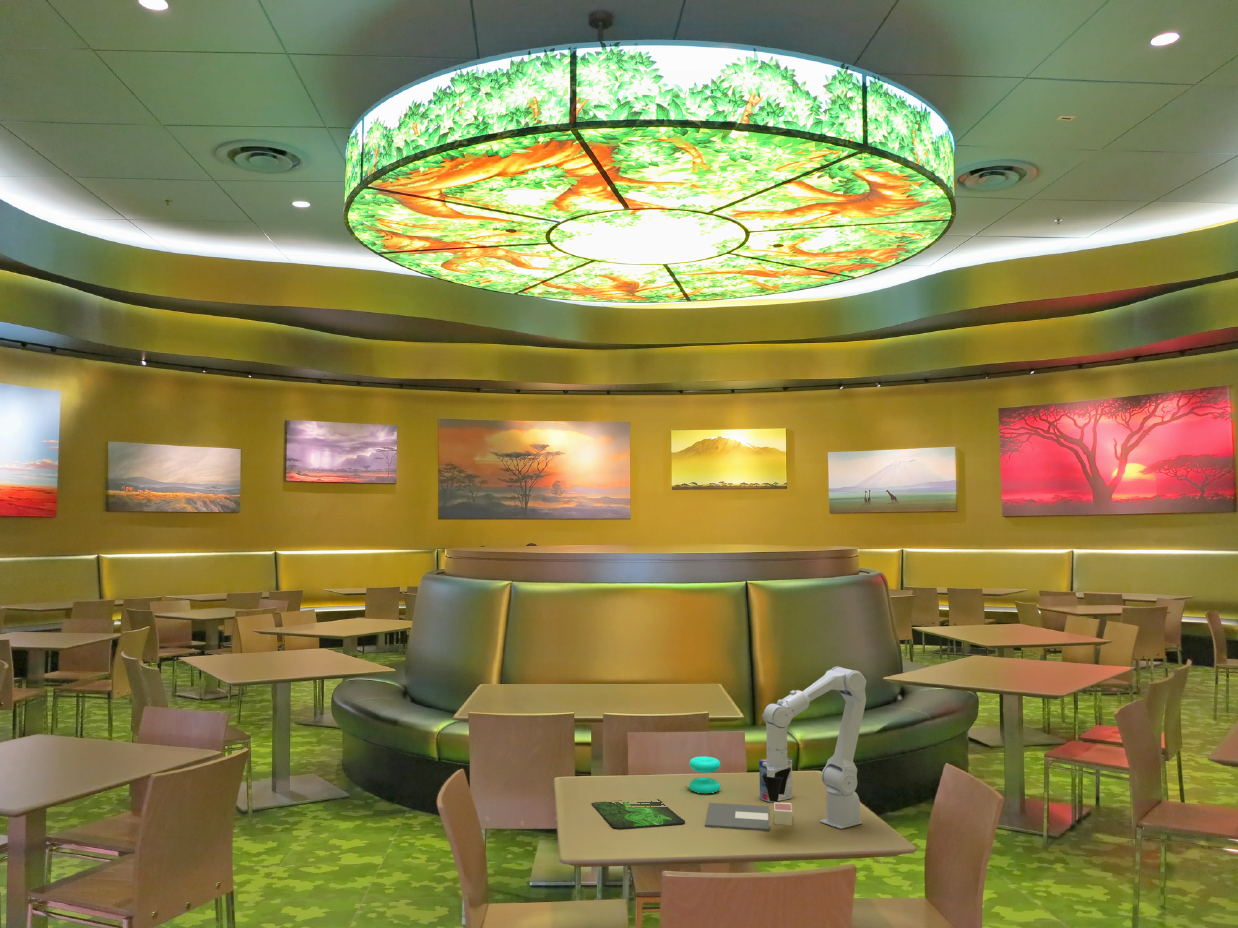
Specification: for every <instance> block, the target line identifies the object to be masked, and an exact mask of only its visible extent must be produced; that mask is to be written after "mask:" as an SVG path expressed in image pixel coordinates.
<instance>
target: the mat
mask: <svg viewBox="0 0 1238 928" xmlns="http://www.w3.org/2000/svg"><path fill="white" fill-rule="evenodd" d="M769 807H770V806H768V805H754V804H737V803H721V802H709V803H708V807H707V813H706V818H705V822H704V827H705V828H715V827H720V829H730V830H731V829H732V830H733V829H735V830H748V831H749V830H750V831H763V832H769V831H770V808H769Z"/></svg>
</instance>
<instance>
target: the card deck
mask: <svg viewBox="0 0 1238 928" xmlns="http://www.w3.org/2000/svg"><path fill="white" fill-rule="evenodd" d="M773 819H774V821H773V823H774V825H782V826H793V807H792V803H790V802H779V801H777V802H773Z"/></svg>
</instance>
